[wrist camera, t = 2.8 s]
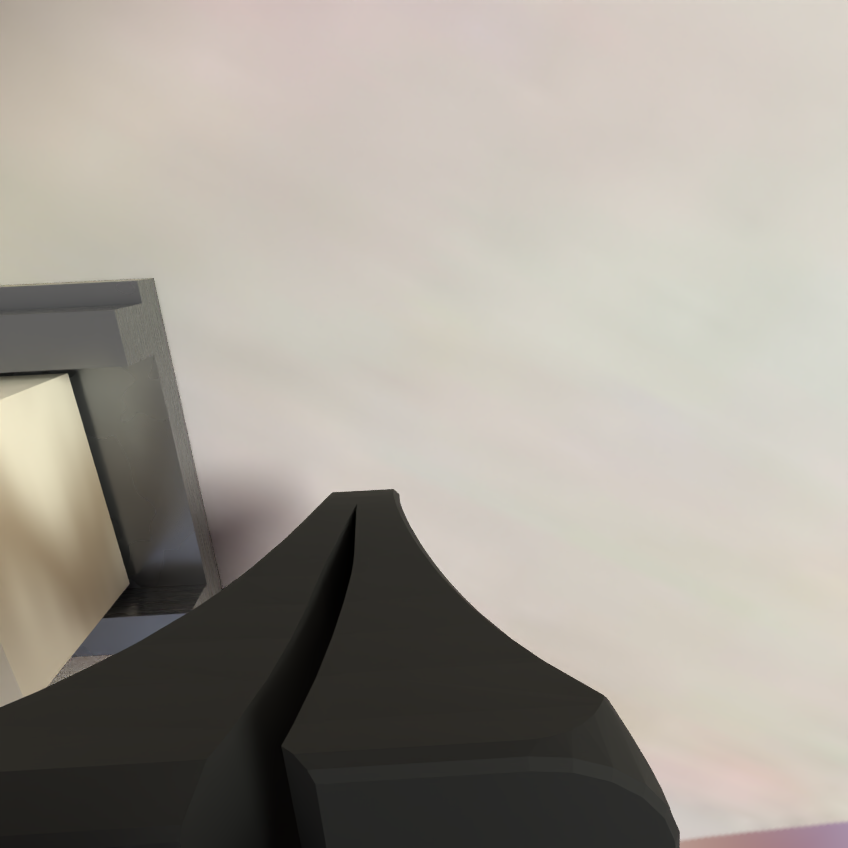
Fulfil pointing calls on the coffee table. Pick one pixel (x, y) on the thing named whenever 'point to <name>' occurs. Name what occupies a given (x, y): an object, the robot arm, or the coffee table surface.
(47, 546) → the block
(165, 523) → the chute
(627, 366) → the coffee table surface
